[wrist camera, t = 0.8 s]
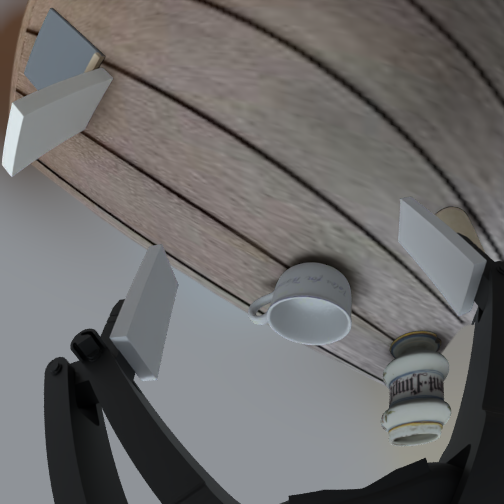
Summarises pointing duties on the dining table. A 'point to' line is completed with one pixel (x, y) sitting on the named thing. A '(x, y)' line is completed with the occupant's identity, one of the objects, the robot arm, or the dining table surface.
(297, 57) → the dining table surface
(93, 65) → the oak strip
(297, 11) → the dining table surface
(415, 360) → the apothecary jar
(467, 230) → the candle
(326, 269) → the teacup
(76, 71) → the mat
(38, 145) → the tile
